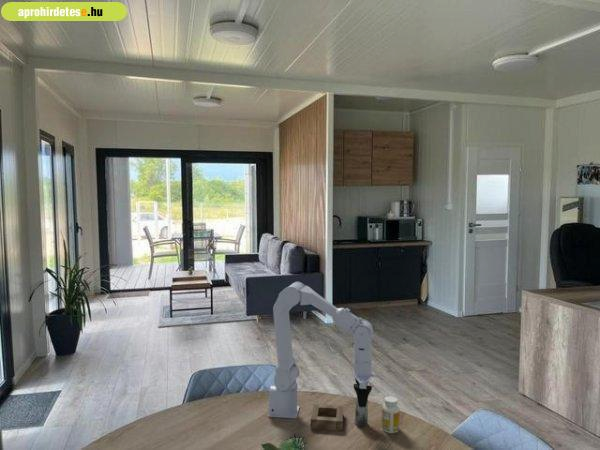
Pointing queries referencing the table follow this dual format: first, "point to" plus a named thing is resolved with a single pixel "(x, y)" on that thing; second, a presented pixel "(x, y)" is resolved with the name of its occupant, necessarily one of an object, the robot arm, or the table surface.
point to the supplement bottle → (390, 415)
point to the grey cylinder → (361, 414)
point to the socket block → (327, 417)
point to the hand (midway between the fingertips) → (361, 400)
